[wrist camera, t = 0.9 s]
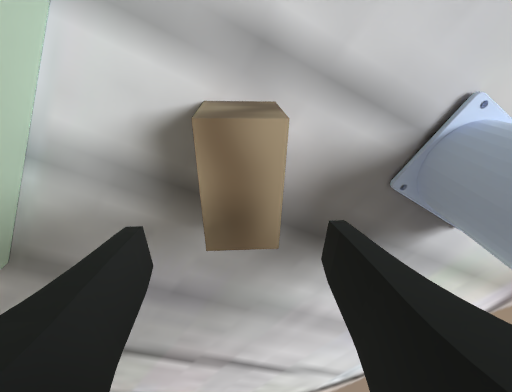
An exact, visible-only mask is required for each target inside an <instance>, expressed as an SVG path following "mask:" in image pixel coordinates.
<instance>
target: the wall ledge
mask: <svg viewBox="0 0 512 392" xmlns="http://www.w3.org/2000/svg"><path fill="white" fill-rule="evenodd" d="M49 3H50V0H0V270H1V269H2V268H3V267H4V266H5V265H6V264H7V263H8V261H9V255H10V248H11V242H12V236H13V229H14V223H15V217H16V211H17V204H18V198H19V192H20V185H21V179H22V173H23V167H24V160H25V154H26V148H27V141H28V135H29V129H30V123H31V116H32V110H33V104H34V98H35V91H36V85H37V79H38V72H39V66H40V60H41V54H42V47H43V41H44V35H45V28H46V22H47V16H48V10H49Z"/></svg>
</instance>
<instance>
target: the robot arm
mask: <svg viewBox="0 0 512 392" xmlns="http://www.w3.org/2000/svg"><path fill="white" fill-rule="evenodd" d="M482 102H483V104H482V105H481V106H480V104H481V103H482ZM402 185H403V187H401V186H402ZM390 186H391V187H392V188H393V189H394V190H396V191H397V192H399V193H401V194H402V195H404V196H405V197H407V198H409V199H410V200H412V201H413V202H415V203H417V204H418V205H420V206H422V207H423V208H425V209H426V210H428V211H430V212H431V213H433V214H434V215H436V216H438V217H439V218H441V219H442V220H444V221H446V222H447V223H449V224H451V225H452V226H454V227H455V228H457V229H459V230H461V231H463V232H464V233H465V234H466V235H468V236H469V237H470V238H472V239H473V240H474V241H475V242H477V243H478V244H479V245H481V246H482V247H483V248H484V249H486V250H487V251H488V252H490V253H491V254H492V255H494V256H495V257H496V258H497V259H499V260H500V261H501V262H503V263H504V264H505V265H506V266H508V267H509V268H510V269H512V118H511V117H510V116H509V115H508V114H507V113H506V112H505V111H504V110H503V109H502V108H501V107H500V106H499V105H498V104H497V103H495V102H494V101H493V100H492V99H491V98H490V97H489V96H488V95H487V94H486V93H484V92H475V93H473V94H472V95H471V96H470V97H469V98H468V99H467V100H466V101H465V102H464V103H463V104H462V105H461V107H460V108H459V109H458V110H457V111H456V112H455V113H454V114H453V115H452V116H451V117H450V118H449V119H448V120H447V122H446V123H445V124H444V125H443V126H442V127H441V128H440V129H439V130H438V131H437V132H436V133H435V134H434V135H433V137H432V138H431V139H430V140H429V141H428V142H427V143H426V144H425V145H424V146H423V147H422V148H421V149H420V150H419V152H418V153H417V154H416V155H415V156H414V157H413V158H412V159H411V160H410V161H409V162H408V163H407V164H406V165H405V167H404V168H403V169H402V170H401V171H400V172H399V173H398V174H397V175H396V176H395V177H394V178H393V179H392V181H391V183H390ZM400 187H401V188H400ZM321 260H322V263H323V267H324V271H325V274H326V277H327V281H328V284H329V286H330V288H331V291H332V293H333V295H334V298H335V300H336V303H337V305H338V307H339V309H340V312H341V314H342V316H343V319H344V321H345V323H346V326H347V328H348V330H349V333H350V335H351V337H352V340H353V342H354V345H355V347H356V350H357V353H358V356H359V359H360V362H361V365H362V368H363V371H364V374H365V377H366V380H367V383H368V387H369V390H370V392H512V324H509V323H507V322H505V321H503V320H501V319H499V318H497V317H495V316H493V315H492V314H490V313H488V312H486V311H484V310H482V309H480V308H478V307H476V306H474V305H472V304H470V303H468V302H467V301H465V300H463V299H461V298H459V297H457V296H456V295H454V294H452V293H451V292H449V291H447V290H445V289H444V288H442V287H440V286H438V285H437V284H435V283H433V282H432V281H430V280H428V279H427V278H425V277H424V276H422V275H421V274H419V273H417V272H416V271H414V270H413V269H411V268H410V267H408V266H407V265H405V264H404V263H402V262H401V261H399V260H398V259H397V258H395V257H394V256H392V255H391V254H389V253H388V252H387V251H385V250H384V249H383V248H381V247H380V246H378V245H377V244H376V243H374V242H373V241H372V240H370V239H369V238H368V237H366V236H365V235H364V234H362V233H361V232H360V231H358V230H357V229H356V228H354V227H353V226H352V225H350V224H349V223H347V222H346V221H344V220H340V221H329V224H328V229H327V233H326V238H325V243H324V248H323V253H322V258H321ZM152 269H153V263H152V259H151V256H150V252H149V248H148V244H147V241H146V237H145V233H144V230H143V226H139V227H125V228H124V229H122V230H121V231H119V232H118V233H117V234H115V235H114V236H113V237H111V238H110V239H109V240H107V241H106V242H105V243H103V244H102V245H101V246H100V247H98V248H97V249H96V250H94V251H93V252H92V253H90V254H89V255H88V256H86V257H85V258H84V259H82V260H81V261H80V262H78V263H77V264H76V265H74V266H73V267H72V268H70V269H69V270H67V271H66V272H65V273H63V274H62V275H60V276H59V277H58V278H56V279H55V280H53V281H52V282H50V283H49V284H48V285H46V286H45V287H43V288H42V289H41V290H39V291H38V292H36V293H35V294H33V295H32V296H30V297H28V298H27V299H25V300H24V301H22V302H21V303H19V304H18V305H16V306H14V307H13V308H11V309H9V310H8V311H6V312H5V313H3V314H1V315H0V392H109V391H110V388H111V384H112V381H113V378H114V375H115V371H116V368H117V365H118V362H119V360H120V357H121V354H122V351H123V349H124V347H125V344H126V342H127V339H128V337H129V334H130V332H131V329H132V327H133V324H134V322H135V319H136V317H137V315H138V312H139V310H140V307H141V305H142V302H143V299H144V297H145V294H146V292H147V288H148V285H149V281H150V277H151V273H152Z"/></svg>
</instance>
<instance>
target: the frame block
mask: <svg viewBox="0 0 512 392" xmlns="http://www.w3.org/2000/svg"><path fill="white" fill-rule="evenodd" d="M192 127H193V136H194V145H195V154H196V163H197V172H198V181H199V190H200V198H201V207H202V216H203V225H204V234H205V243H206V251H220V250H249V249H278V248H279V236H280V224H281V212H282V200H283V188H284V177H285V165H286V153H287V141H288V129H289V118H288V116H287V115H286V114H285V113H284V112H283V110H282V109H281V108H280V107H279V106H278V104H277V103H276V102H254V101H204V102H203V103H202V105H201V106H200V107H199V109H198V110H197V111H196V113H195V114H194V116H193V117H192Z"/></svg>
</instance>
